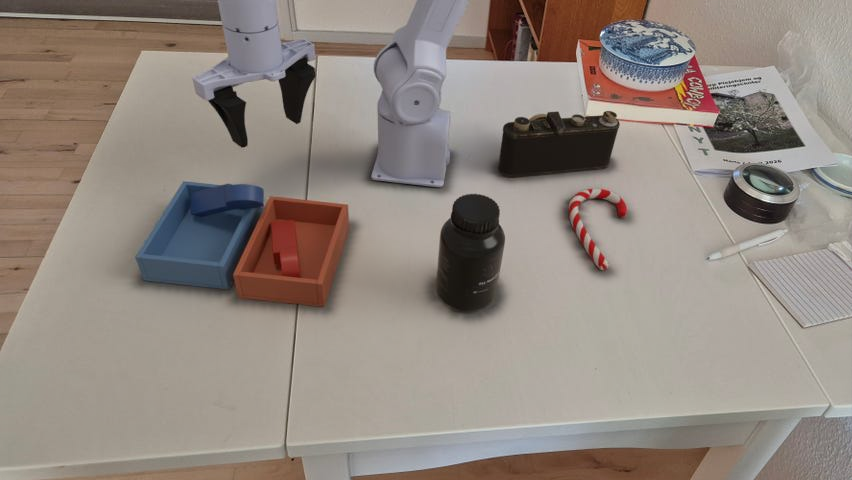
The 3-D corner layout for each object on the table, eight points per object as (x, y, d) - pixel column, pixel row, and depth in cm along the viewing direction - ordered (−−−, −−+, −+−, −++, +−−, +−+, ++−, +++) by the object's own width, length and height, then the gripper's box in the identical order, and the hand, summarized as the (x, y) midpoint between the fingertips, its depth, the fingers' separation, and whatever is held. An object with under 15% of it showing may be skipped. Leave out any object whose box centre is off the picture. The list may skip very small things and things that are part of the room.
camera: (595, 143, 99) (607, 95, 93) (613, 170, 94) (627, 121, 89) (489, 152, 94) (494, 102, 89) (502, 181, 90) (509, 130, 84)
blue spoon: (181, 212, 76) (181, 190, 77) (210, 218, 80) (211, 197, 80) (242, 198, 71) (242, 174, 72) (271, 205, 75) (271, 182, 75)
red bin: (349, 226, 81) (348, 204, 78) (324, 307, 71) (321, 284, 69) (273, 218, 81) (269, 195, 78) (238, 297, 71) (232, 274, 69)
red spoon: (296, 239, 79) (274, 241, 79) (292, 210, 77) (269, 212, 76) (302, 291, 71) (277, 294, 71) (298, 260, 69) (272, 263, 68)
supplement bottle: (490, 319, 72) (503, 236, 64) (429, 306, 73) (433, 222, 64) (501, 276, 77) (514, 194, 69) (444, 264, 78) (450, 181, 69)
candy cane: (577, 262, 78) (566, 184, 89) (575, 270, 79) (564, 191, 90) (642, 266, 78) (623, 188, 89) (639, 274, 79) (621, 196, 90)
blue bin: (265, 212, 81) (261, 189, 79) (229, 289, 72) (223, 266, 69) (189, 203, 81) (183, 180, 79) (143, 280, 72) (134, 256, 69)
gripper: (211, 56, 65) (235, 170, 74) (328, 16, 73) (336, 123, 83) (171, 30, 68) (198, 143, 77) (288, -6, 76) (300, 100, 85)
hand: (267, 131), depth 80 cm, fingers open, 7 cm apart
